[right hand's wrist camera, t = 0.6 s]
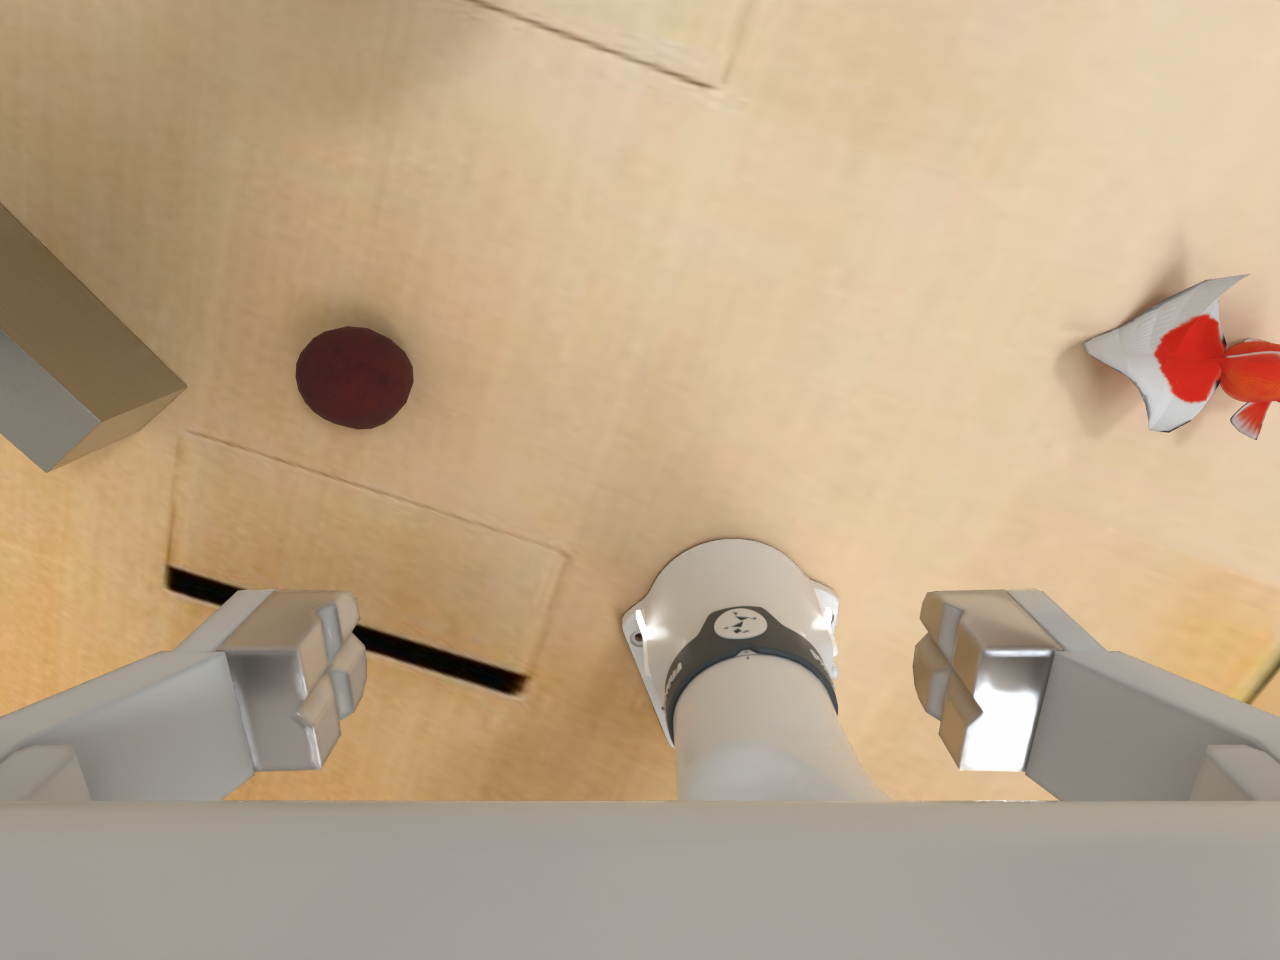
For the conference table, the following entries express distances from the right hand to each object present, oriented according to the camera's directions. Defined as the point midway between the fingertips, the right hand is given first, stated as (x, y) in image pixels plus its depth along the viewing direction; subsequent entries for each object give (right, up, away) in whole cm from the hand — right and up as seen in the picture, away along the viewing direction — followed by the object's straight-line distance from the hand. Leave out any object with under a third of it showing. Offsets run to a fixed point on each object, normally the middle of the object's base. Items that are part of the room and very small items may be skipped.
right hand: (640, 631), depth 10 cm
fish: (+40, +12, +44) cm, 60 cm away
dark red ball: (-20, +11, +44) cm, 50 cm away
